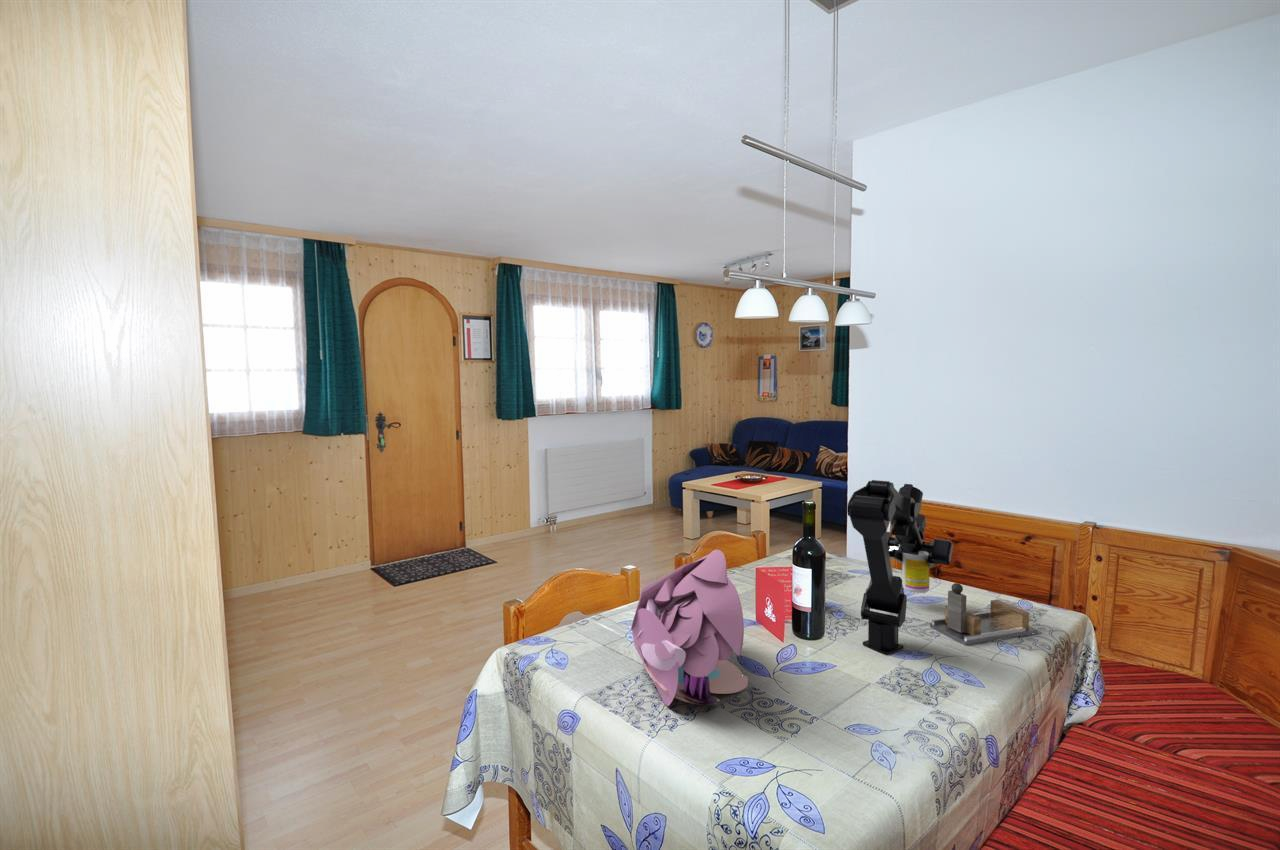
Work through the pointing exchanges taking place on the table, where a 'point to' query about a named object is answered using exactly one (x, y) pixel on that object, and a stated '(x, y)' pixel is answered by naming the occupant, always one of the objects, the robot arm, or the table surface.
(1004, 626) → the bench clamp
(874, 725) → the table surface
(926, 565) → the supplement bottle
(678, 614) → the flower arrangement
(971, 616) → the sliding jaw
